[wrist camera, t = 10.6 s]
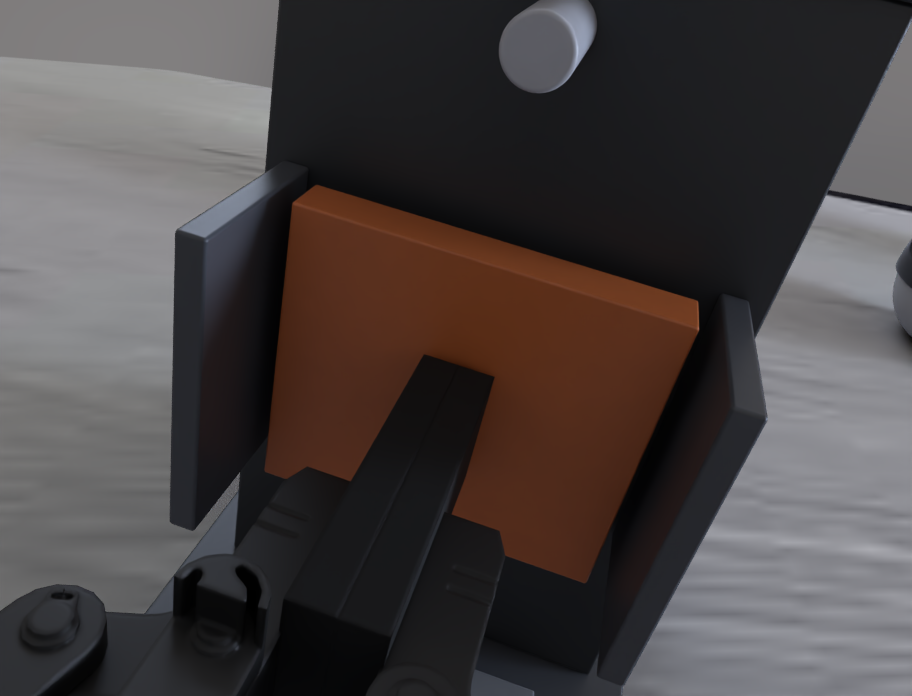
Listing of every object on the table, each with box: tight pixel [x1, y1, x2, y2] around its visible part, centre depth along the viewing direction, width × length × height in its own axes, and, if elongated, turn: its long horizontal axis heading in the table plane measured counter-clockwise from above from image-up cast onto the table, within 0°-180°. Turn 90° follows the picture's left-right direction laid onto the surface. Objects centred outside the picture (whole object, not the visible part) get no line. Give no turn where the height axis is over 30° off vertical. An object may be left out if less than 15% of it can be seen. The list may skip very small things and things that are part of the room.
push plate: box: [264, 185, 699, 583], centre depth 17 cm, size 1×8×7 cm, turn 75°
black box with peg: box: [145, 0, 912, 696], centre depth 19 cm, size 15×13×21 cm
